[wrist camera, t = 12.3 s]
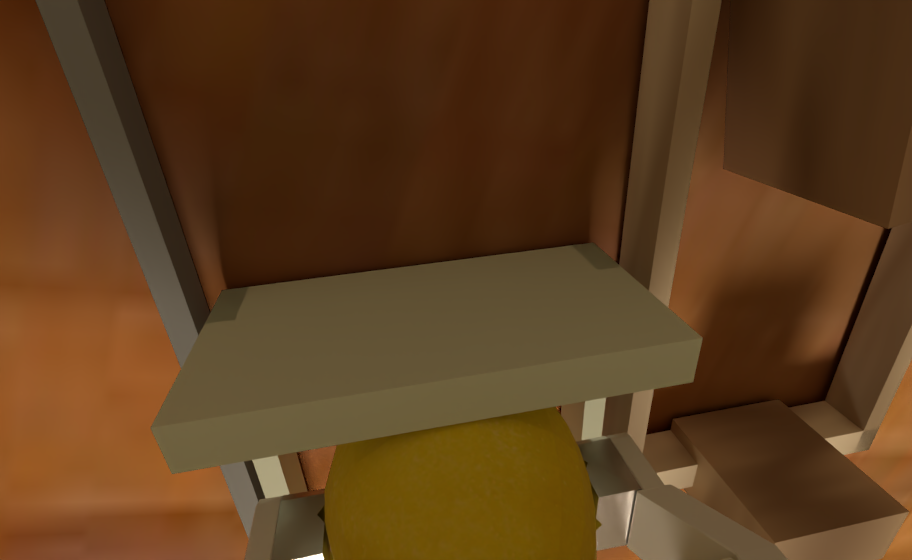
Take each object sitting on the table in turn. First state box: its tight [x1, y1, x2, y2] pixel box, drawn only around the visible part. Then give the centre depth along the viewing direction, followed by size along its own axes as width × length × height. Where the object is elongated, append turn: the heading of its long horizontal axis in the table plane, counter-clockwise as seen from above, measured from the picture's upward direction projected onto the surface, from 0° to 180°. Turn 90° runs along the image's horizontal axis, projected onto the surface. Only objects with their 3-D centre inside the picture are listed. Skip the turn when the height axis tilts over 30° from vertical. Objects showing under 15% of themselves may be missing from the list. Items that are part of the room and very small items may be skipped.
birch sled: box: [602, 0, 912, 560], centre depth 11 cm, size 9×18×4 cm, turn 3°
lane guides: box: [36, 0, 265, 538], centre depth 12 cm, size 21×19×1 cm
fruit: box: [325, 407, 596, 560], centre depth 10 cm, size 6×6×8 cm
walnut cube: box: [723, 0, 912, 229], centre depth 10 cm, size 4×4×4 cm
